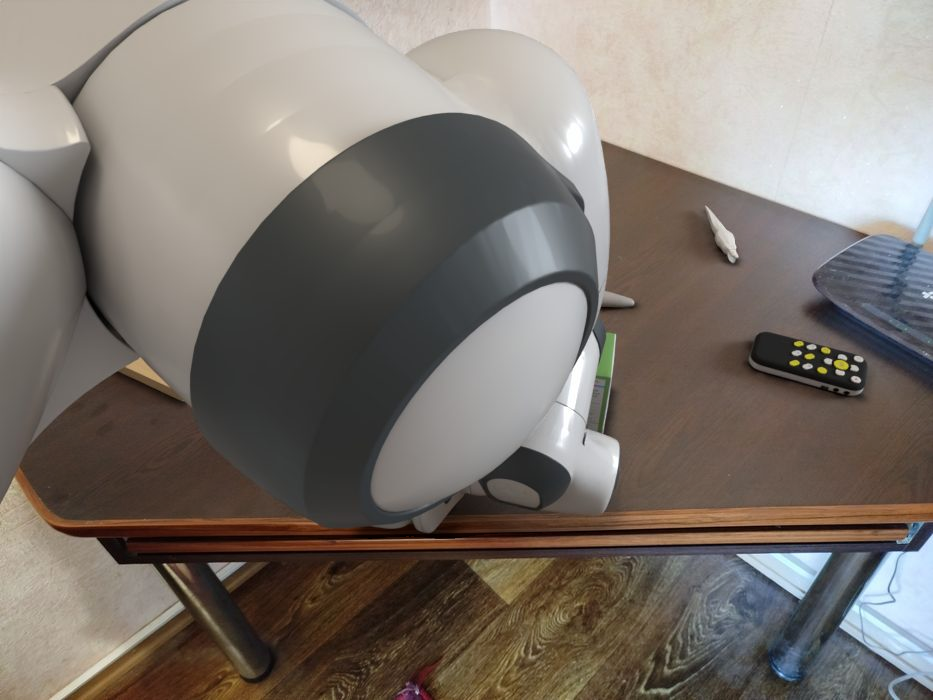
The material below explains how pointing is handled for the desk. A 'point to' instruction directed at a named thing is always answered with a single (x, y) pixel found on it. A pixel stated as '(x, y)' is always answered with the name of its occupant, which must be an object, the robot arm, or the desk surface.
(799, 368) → the remote control
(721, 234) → the white dinosaur figurine
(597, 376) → the ink box
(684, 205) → the desk surface
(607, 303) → the long tapered cone
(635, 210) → the desk surface
